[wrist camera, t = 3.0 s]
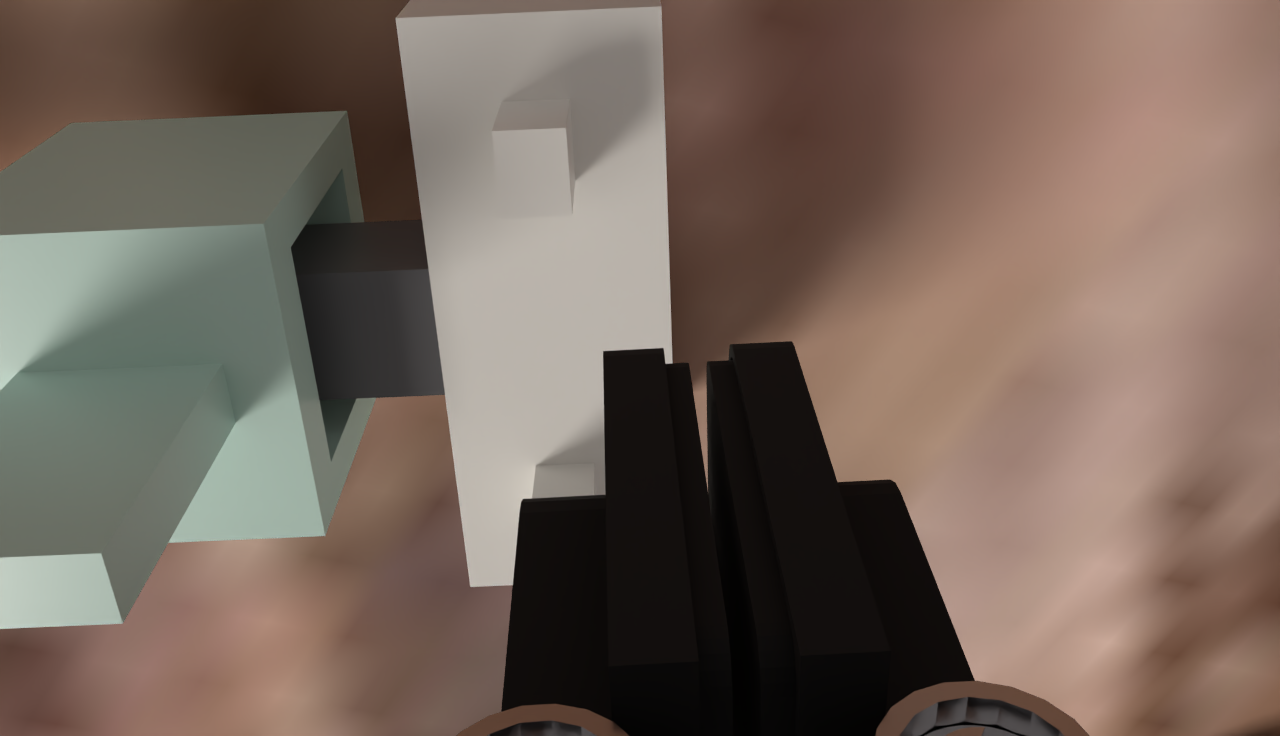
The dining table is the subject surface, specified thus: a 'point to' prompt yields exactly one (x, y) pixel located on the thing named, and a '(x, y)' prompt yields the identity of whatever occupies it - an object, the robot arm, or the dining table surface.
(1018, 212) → the dining table surface
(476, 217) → the rail
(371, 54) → the dining table surface
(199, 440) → the sleeve
